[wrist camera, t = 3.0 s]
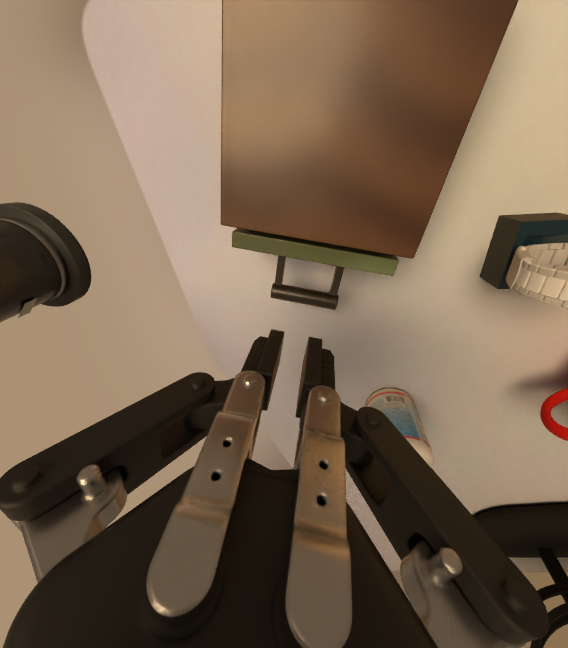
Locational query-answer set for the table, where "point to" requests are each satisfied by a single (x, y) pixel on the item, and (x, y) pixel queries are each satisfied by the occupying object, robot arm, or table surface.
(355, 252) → the drawer
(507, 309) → the table surface
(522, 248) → the watch
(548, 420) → the ceramic cup
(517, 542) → the desk fan
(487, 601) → the robot arm
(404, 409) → the pill bottle
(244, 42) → the cabinet
